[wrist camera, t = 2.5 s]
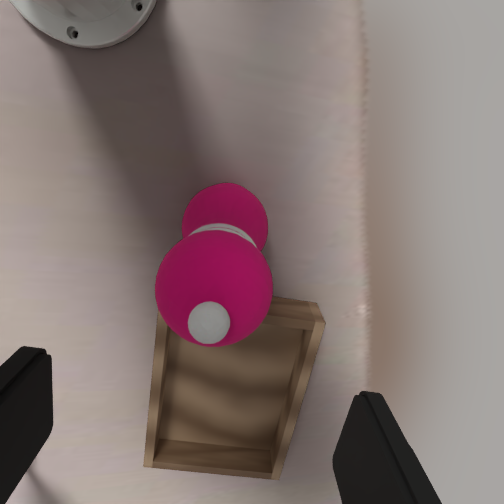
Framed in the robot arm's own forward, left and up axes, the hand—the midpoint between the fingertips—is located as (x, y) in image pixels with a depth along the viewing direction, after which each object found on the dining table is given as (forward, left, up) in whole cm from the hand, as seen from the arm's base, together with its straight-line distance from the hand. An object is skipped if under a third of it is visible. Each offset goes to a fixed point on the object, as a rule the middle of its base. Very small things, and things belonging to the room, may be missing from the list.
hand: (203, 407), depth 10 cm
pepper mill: (0, 0, -24) cm, 24 cm away
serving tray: (+19, +3, -23) cm, 30 cm away
